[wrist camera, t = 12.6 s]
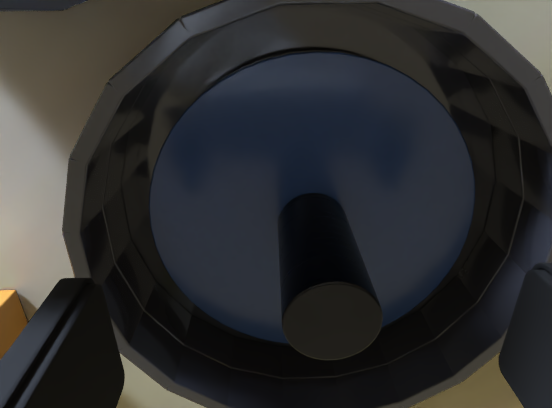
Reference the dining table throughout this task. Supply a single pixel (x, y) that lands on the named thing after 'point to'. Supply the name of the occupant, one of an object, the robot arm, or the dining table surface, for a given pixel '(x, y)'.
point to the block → (10, 319)
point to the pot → (37, 5)
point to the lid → (312, 199)
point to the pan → (392, 337)
